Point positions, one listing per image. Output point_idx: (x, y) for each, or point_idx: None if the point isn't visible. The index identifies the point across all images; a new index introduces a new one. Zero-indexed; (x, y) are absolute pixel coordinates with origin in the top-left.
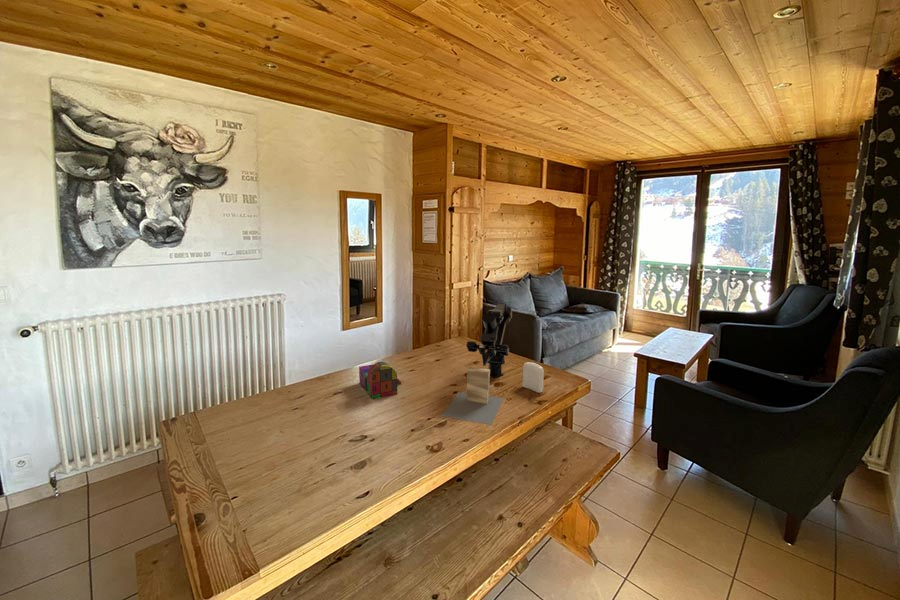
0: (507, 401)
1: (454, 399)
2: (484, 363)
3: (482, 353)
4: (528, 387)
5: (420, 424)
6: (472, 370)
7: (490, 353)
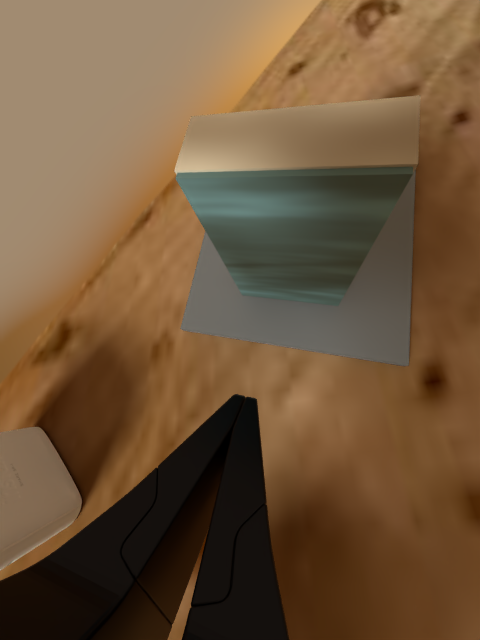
0: (170, 323)
1: (407, 271)
2: (238, 403)
3: (256, 622)
4: (58, 467)
5: (477, 78)
6: (349, 105)
7: (43, 564)
